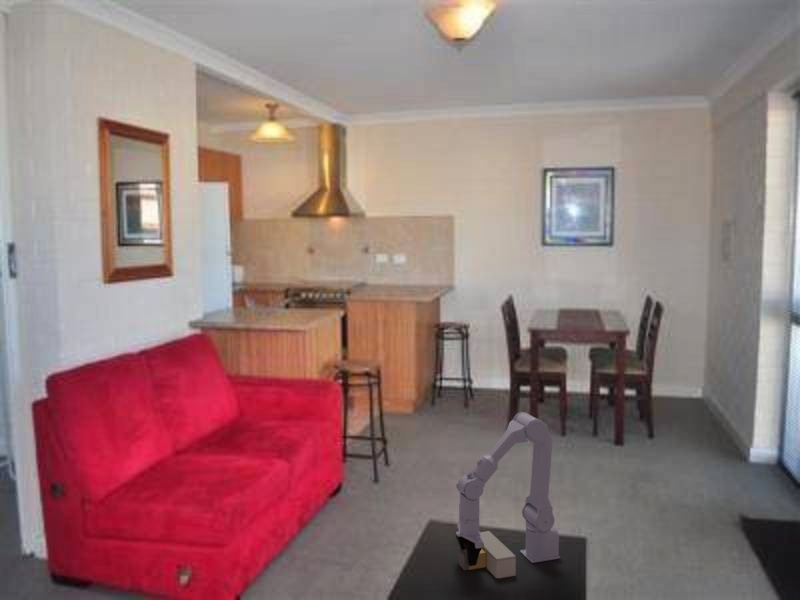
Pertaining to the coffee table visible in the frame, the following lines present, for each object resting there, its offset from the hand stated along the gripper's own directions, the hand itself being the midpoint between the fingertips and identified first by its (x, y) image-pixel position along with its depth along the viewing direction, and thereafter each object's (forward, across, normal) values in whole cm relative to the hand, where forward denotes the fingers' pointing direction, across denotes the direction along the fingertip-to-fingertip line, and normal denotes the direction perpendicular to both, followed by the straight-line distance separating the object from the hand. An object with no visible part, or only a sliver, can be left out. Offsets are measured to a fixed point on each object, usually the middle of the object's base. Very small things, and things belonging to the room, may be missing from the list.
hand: (469, 561), depth 207 cm
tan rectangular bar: (+1, 0, +3) cm, 4 cm away
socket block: (+2, 0, +8) cm, 8 cm away
